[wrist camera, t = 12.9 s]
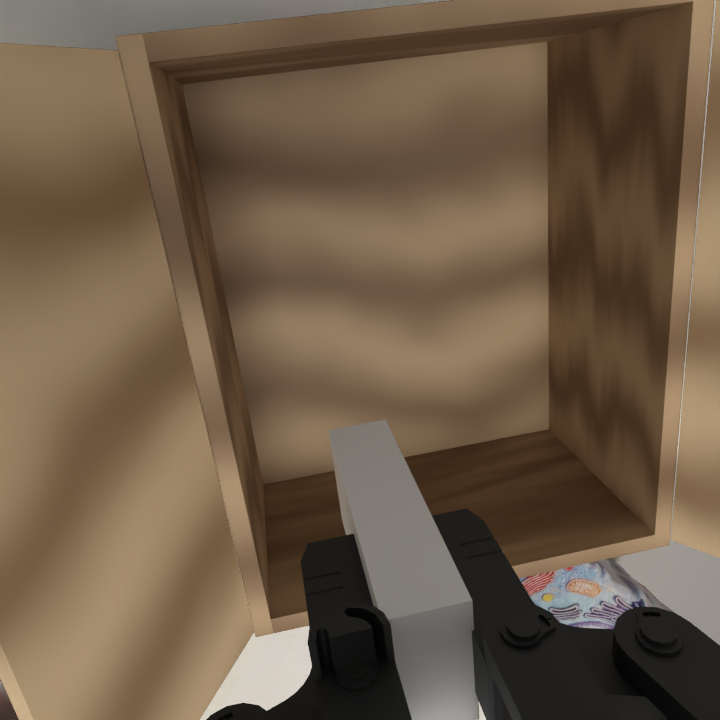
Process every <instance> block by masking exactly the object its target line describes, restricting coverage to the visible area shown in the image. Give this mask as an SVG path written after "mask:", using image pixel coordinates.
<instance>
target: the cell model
mask: <svg viewBox="0 0 720 720" xmlns="http://www.w3.org/2000/svg"><path fill="white" fill-rule="evenodd" d="M519 579H520V581H521V583H522V584H523V586H524V588H525V589H526V591H527V593H528V594H529V596H530V597H531V599H532V601H533V602H534V603H535V605H538V606H540V607H541V608H543V609H545V610H547V611H549V612H551V613H552V614H553V616H554V617H555V618H556V619H557V620H558V621H559V622H560V623H563V624H566V625H569V626H574V627H582V628H599V629H614V626H615V623H616V620H617V618H618V617H619V616H620V615H621V614H622V613H624V612H625V611H626V610H629V609H633V608H636V607H640V606H642V607H658V608H661V609H664V610H668V611H671V612H673V611H672V610H671V609H669V608H668V607H667V606H665V605H664V604H662V603H661V602H660V601H659V600H658V599H657V598H656V597H655V596H654V595H653V594H652V593H651V592H650V591H649V590H648V589H647V588H646V587H644V586H643V585H641V584H640V583H638V582H637V581H636V580H634V579H633V578H632V577H631V576H630V575H629V574H628V573H627V572H626V571H625V570H624V569H623V568H622V567H621V566H620V565H618V564H617V563H615V562H613V561H611V560H608V559H605V560H600V561H596V562H591V563H587V564H582V565H578V566H573V567H569V568H564V569H560V570H555V571H551V572H546V573H542V574H537V575H533V576H528V577H524V578H519ZM478 701H479V700H478Z"/></svg>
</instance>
